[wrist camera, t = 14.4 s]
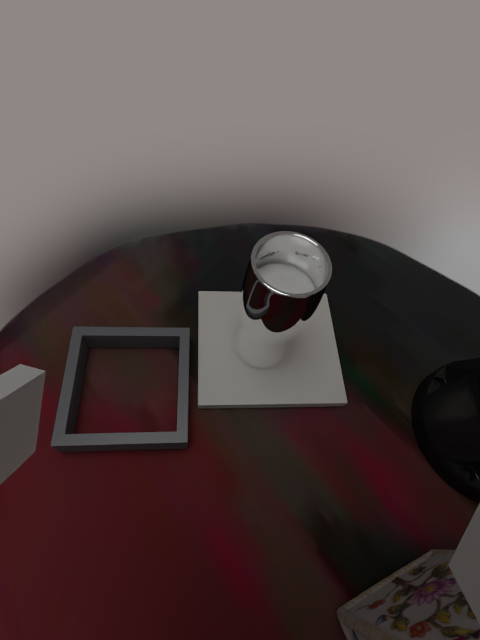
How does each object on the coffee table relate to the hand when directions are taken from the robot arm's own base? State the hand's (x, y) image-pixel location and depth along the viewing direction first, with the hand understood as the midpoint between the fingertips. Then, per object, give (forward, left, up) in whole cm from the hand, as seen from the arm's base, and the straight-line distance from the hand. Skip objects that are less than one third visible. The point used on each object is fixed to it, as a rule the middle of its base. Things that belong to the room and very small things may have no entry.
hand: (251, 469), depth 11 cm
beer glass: (-6, -17, -26) cm, 32 cm away
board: (-7, -17, -27) cm, 33 cm away
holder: (+8, -12, -27) cm, 31 cm away
